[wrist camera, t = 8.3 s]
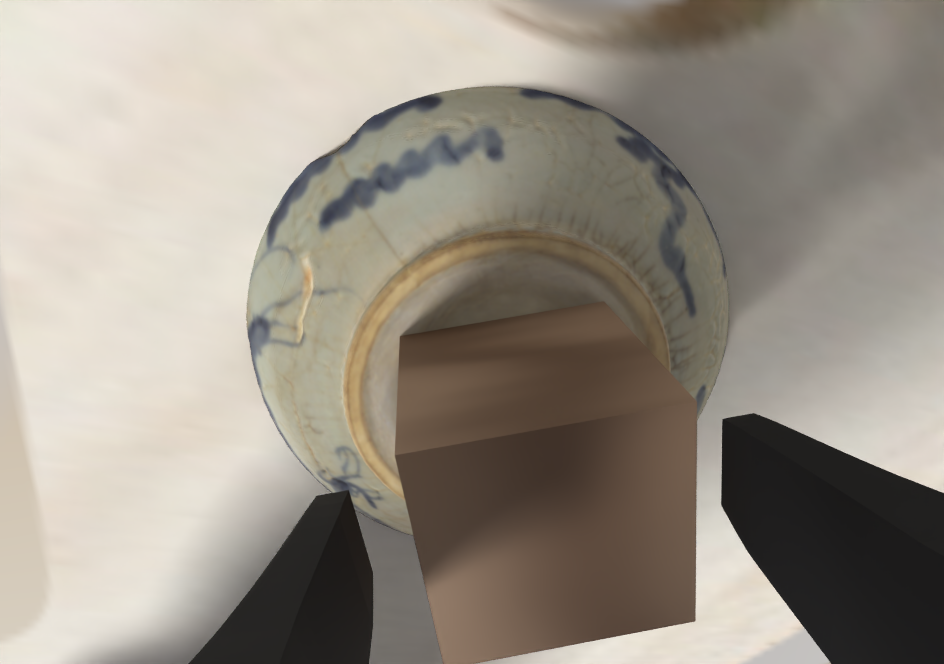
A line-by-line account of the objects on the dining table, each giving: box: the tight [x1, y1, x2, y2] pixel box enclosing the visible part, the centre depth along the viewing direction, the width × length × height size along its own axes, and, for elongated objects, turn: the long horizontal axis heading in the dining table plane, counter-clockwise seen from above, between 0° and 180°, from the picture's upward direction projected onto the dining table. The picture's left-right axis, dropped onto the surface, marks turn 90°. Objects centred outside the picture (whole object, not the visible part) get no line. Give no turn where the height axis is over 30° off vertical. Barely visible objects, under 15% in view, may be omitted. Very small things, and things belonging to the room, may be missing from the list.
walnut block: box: [395, 301, 697, 664], centre depth 13 cm, size 5×5×5 cm
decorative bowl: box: [246, 87, 729, 535], centre depth 17 cm, size 15×4×15 cm
